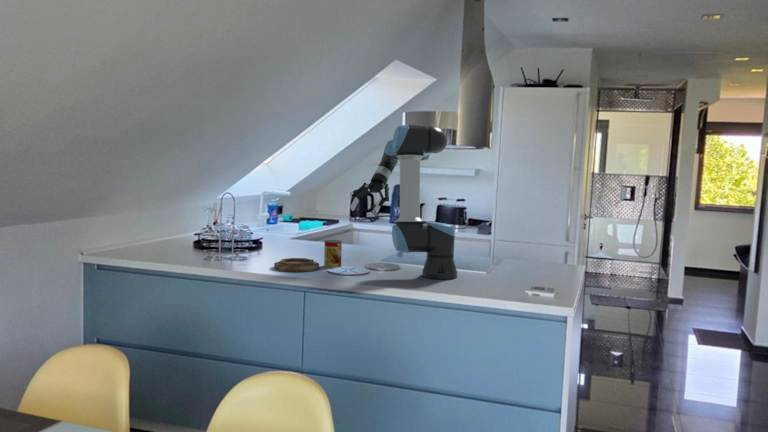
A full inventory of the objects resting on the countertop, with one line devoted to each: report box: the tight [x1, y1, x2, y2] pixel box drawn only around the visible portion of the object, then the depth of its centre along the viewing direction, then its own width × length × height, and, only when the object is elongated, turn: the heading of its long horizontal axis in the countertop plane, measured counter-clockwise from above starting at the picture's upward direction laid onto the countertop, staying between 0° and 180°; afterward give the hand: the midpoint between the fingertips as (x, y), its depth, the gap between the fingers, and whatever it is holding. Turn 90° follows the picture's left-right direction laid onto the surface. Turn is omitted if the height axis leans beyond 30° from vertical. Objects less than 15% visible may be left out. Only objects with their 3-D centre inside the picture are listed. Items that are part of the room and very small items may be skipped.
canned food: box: [323, 239, 343, 269], centre depth 288 cm, size 8×8×12 cm
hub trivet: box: [273, 257, 320, 273], centre depth 282 cm, size 20×20×3 cm
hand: (363, 210), depth 297 cm, fingers open, 13 cm apart
